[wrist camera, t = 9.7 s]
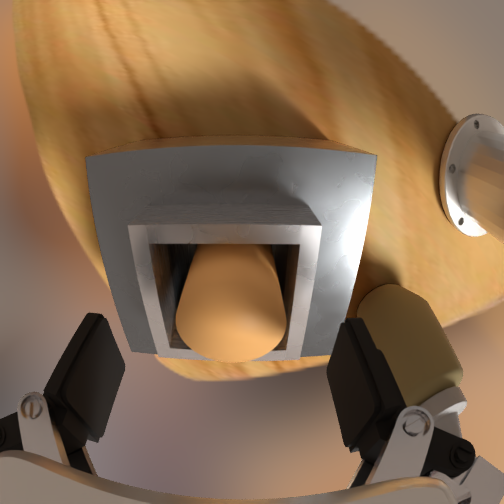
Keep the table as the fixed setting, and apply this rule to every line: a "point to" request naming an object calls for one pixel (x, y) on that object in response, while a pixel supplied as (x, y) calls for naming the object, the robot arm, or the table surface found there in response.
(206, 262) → the orange cylinder
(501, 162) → the robot arm
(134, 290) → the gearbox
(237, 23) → the table surface
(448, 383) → the squeeze bottle
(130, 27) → the table surface
